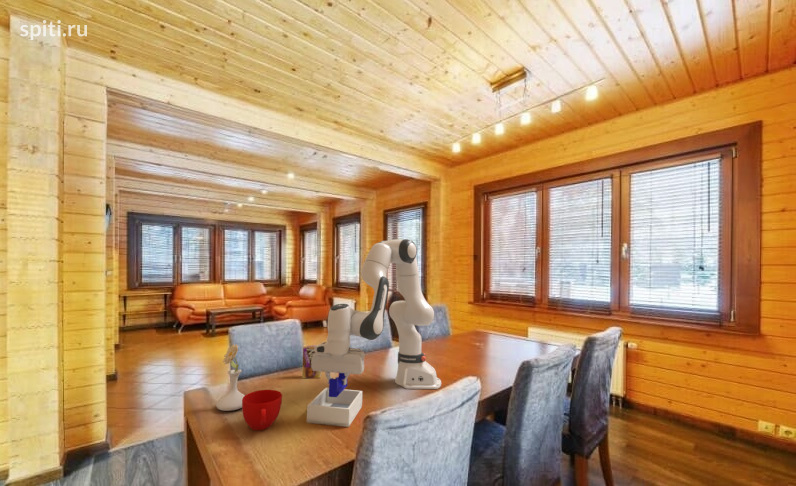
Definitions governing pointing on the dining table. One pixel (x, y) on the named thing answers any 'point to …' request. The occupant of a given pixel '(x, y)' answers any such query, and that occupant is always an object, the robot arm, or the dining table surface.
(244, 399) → the ceramic cup
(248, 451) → the dining table surface
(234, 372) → the flower in vase
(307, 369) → the candy box
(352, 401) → the walled box
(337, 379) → the blue curved block
